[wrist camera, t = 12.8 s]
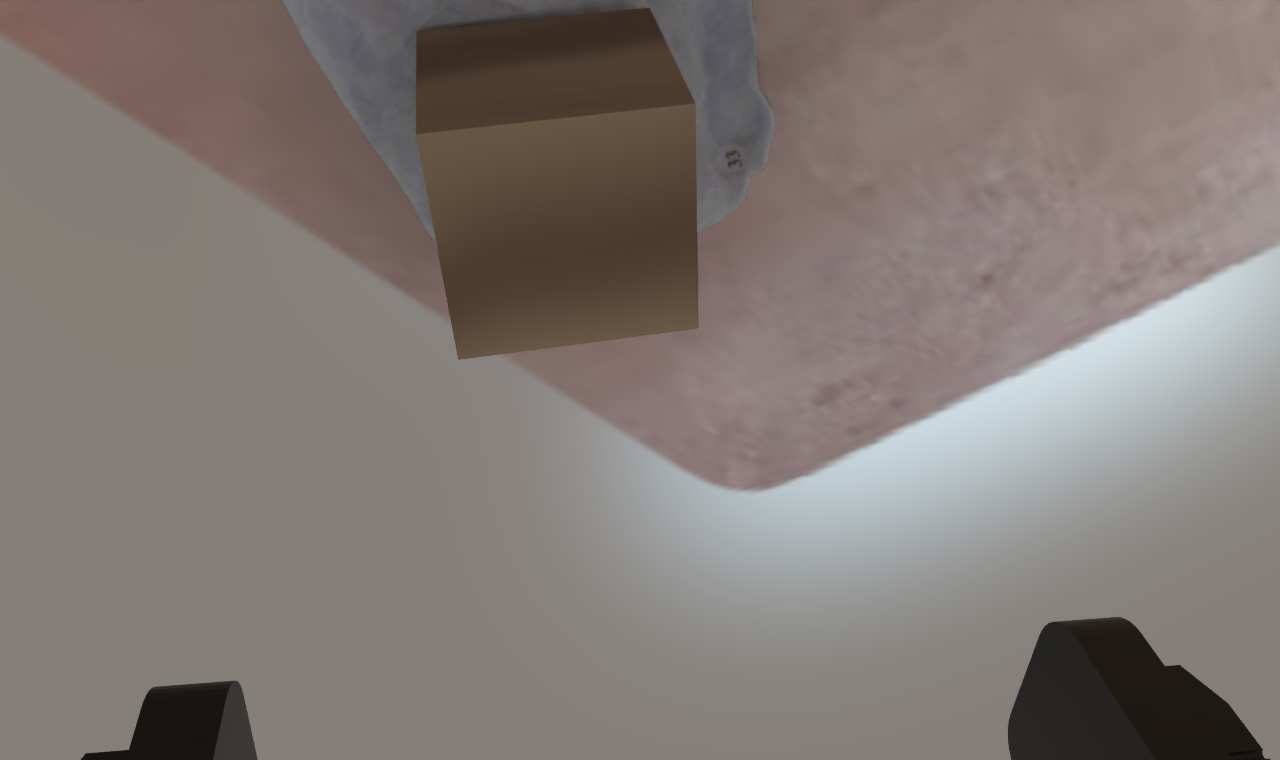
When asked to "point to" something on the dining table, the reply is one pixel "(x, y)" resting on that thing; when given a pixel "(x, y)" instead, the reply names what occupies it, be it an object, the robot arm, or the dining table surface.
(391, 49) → the stone block
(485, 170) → the walnut block
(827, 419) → the dining table surface
